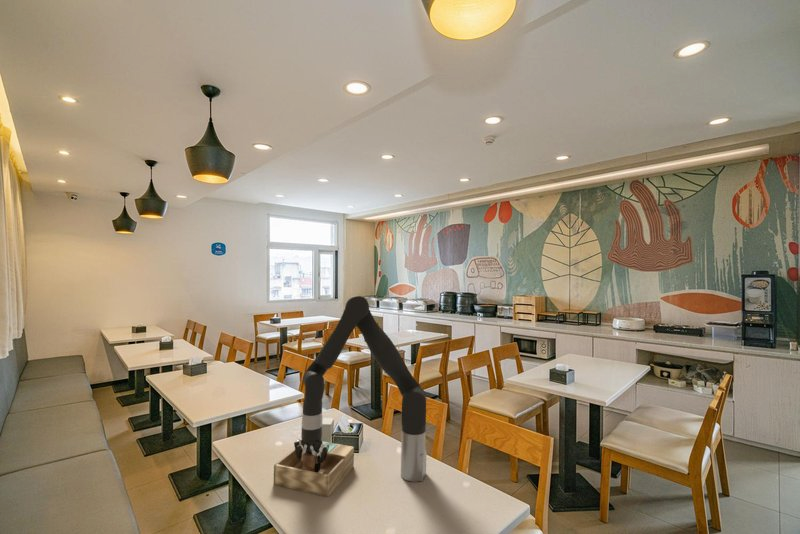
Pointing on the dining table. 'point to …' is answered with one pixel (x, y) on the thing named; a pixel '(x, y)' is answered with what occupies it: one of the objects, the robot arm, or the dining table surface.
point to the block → (308, 462)
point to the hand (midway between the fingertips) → (310, 470)
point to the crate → (313, 482)
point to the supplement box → (327, 429)
